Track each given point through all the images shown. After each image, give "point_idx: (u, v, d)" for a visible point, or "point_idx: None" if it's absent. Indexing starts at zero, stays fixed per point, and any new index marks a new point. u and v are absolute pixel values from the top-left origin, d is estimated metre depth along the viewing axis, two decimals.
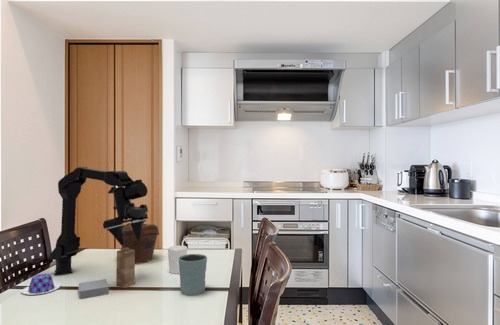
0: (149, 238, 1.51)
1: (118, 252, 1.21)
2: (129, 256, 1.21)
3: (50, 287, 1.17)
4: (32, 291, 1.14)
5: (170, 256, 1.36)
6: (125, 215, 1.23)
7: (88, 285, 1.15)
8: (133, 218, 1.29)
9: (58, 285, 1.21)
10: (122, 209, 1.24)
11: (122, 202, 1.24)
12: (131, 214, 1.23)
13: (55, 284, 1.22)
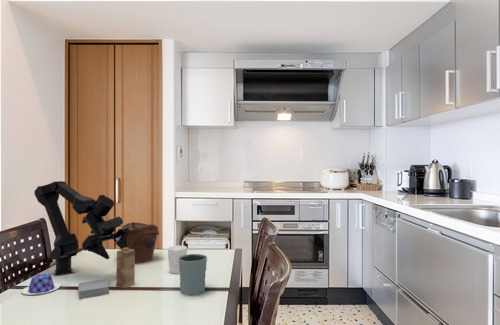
0: (149, 238, 1.51)
1: (118, 252, 1.21)
2: (129, 256, 1.21)
3: (50, 287, 1.17)
4: (32, 291, 1.14)
5: (170, 256, 1.36)
6: (101, 231, 1.24)
7: (88, 285, 1.15)
8: (114, 235, 1.30)
9: (58, 285, 1.21)
10: (97, 228, 1.25)
11: (95, 222, 1.26)
12: (106, 227, 1.24)
13: (55, 284, 1.22)
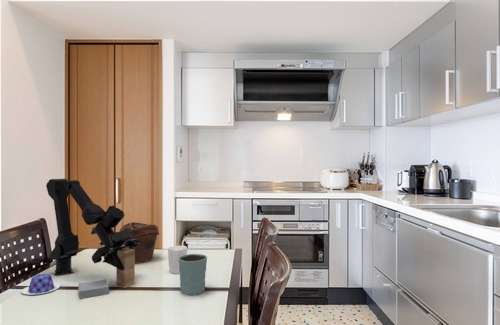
0: (149, 238, 1.51)
1: (118, 252, 1.21)
2: (129, 256, 1.21)
3: (50, 287, 1.17)
4: (32, 291, 1.14)
5: (170, 256, 1.36)
6: (111, 243, 1.22)
7: (88, 285, 1.15)
8: (119, 248, 1.26)
9: (58, 285, 1.21)
10: (107, 240, 1.23)
11: (105, 234, 1.24)
12: (116, 239, 1.21)
13: (55, 284, 1.22)
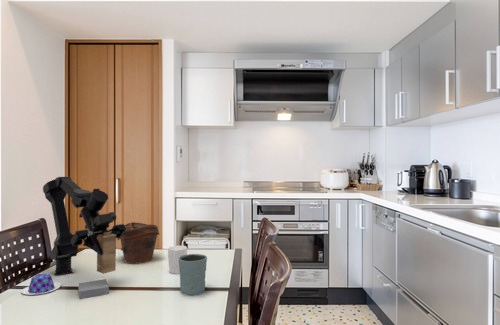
0: (149, 238, 1.51)
1: (98, 236, 1.17)
2: (109, 241, 1.17)
3: (50, 287, 1.17)
4: (32, 291, 1.14)
5: (170, 256, 1.36)
6: (92, 227, 1.18)
7: (88, 285, 1.15)
8: (103, 232, 1.22)
9: (58, 285, 1.21)
10: (90, 223, 1.20)
11: (88, 217, 1.21)
12: (97, 223, 1.18)
13: (56, 285, 1.22)
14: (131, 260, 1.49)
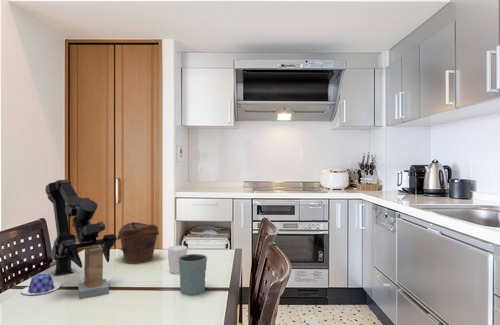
0: (149, 238, 1.51)
1: (85, 249, 1.15)
2: (95, 255, 1.14)
3: (50, 287, 1.17)
4: (32, 291, 1.14)
5: (170, 256, 1.36)
6: (80, 237, 1.17)
7: None
8: (98, 241, 1.21)
9: (58, 285, 1.21)
10: (79, 233, 1.19)
11: (78, 226, 1.20)
12: (84, 233, 1.16)
13: (56, 284, 1.22)
14: (131, 260, 1.49)
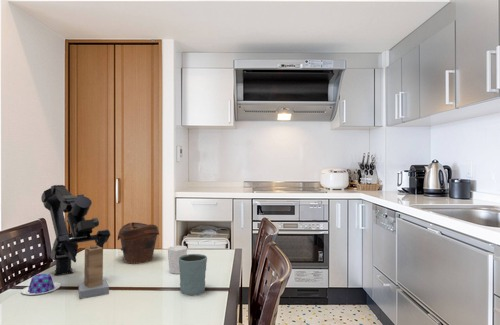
0: (149, 238, 1.51)
1: (85, 249, 1.15)
2: (95, 255, 1.14)
3: (50, 287, 1.17)
4: (32, 291, 1.14)
5: (170, 256, 1.36)
6: (75, 232, 1.20)
7: None
8: (92, 237, 1.25)
9: (58, 285, 1.21)
10: (74, 229, 1.22)
11: (73, 222, 1.24)
12: (78, 229, 1.19)
13: (55, 284, 1.22)
14: (131, 260, 1.49)
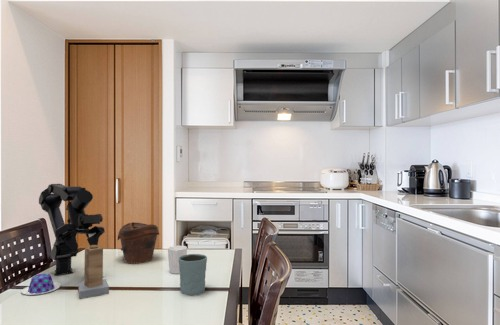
0: (149, 238, 1.51)
1: (85, 249, 1.15)
2: (95, 255, 1.14)
3: (50, 287, 1.17)
4: (32, 291, 1.14)
5: (170, 256, 1.36)
6: (79, 223, 1.24)
7: None
8: (89, 231, 1.29)
9: (58, 285, 1.21)
10: (76, 219, 1.25)
11: (76, 212, 1.26)
12: (85, 221, 1.24)
13: (55, 284, 1.22)
14: (131, 260, 1.49)
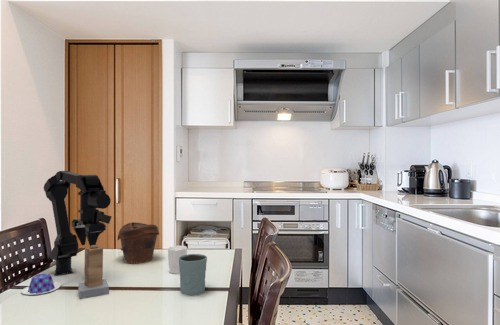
0: (149, 238, 1.51)
1: (85, 249, 1.15)
2: (95, 255, 1.14)
3: (50, 287, 1.18)
4: (33, 291, 1.14)
5: (170, 256, 1.36)
6: (97, 220, 1.27)
7: None
8: None
9: (58, 285, 1.21)
10: (94, 214, 1.27)
11: (95, 207, 1.27)
12: (103, 220, 1.29)
13: (55, 284, 1.22)
14: (131, 260, 1.49)
